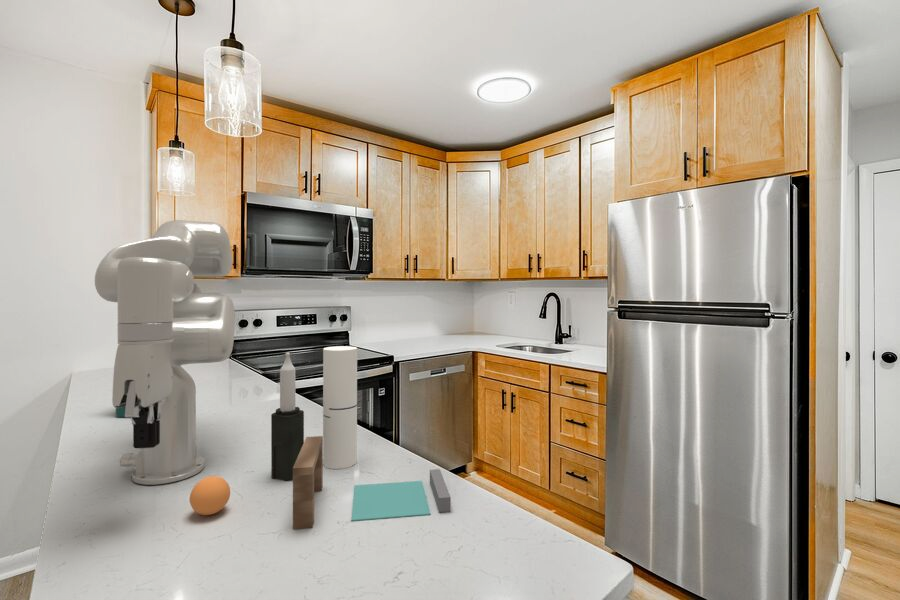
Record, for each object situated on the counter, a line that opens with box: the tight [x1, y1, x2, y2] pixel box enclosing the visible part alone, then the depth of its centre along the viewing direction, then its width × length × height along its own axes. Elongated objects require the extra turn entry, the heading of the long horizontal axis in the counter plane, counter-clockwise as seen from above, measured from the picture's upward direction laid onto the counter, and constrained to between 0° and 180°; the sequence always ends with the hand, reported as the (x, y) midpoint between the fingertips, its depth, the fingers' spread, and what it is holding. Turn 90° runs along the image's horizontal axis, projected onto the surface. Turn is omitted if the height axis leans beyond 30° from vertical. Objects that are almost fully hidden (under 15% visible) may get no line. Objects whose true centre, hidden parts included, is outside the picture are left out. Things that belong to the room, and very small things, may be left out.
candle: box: [270, 351, 305, 482], centre depth 90 cm, size 5×5×25 cm
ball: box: [189, 475, 231, 516], centre depth 75 cm, size 6×6×6 cm
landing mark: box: [351, 480, 431, 522], centre depth 80 cm, size 13×13×1 cm
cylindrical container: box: [322, 345, 358, 470], centre depth 97 cm, size 7×7×25 cm
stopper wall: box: [429, 468, 452, 513], centre depth 82 cm, size 2×12×2 cm, turn 10°
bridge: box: [292, 435, 324, 530], centre depth 78 cm, size 3×15×10 cm, turn 10°
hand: (146, 446), depth 73 cm, fingers closed
